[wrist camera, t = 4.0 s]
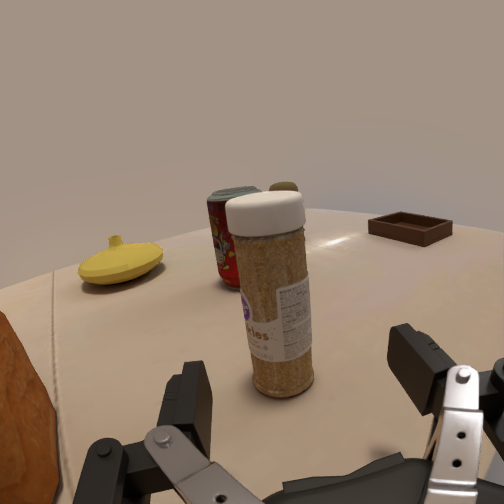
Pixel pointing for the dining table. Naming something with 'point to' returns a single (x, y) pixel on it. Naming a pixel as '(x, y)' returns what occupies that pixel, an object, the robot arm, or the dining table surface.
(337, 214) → the dining table surface
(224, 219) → the soda can
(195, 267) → the dining table surface
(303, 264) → the sprinkles bottle
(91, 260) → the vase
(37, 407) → the bread
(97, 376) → the dining table surface
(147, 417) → the dining table surface
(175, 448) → the robot arm
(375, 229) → the serving tray
